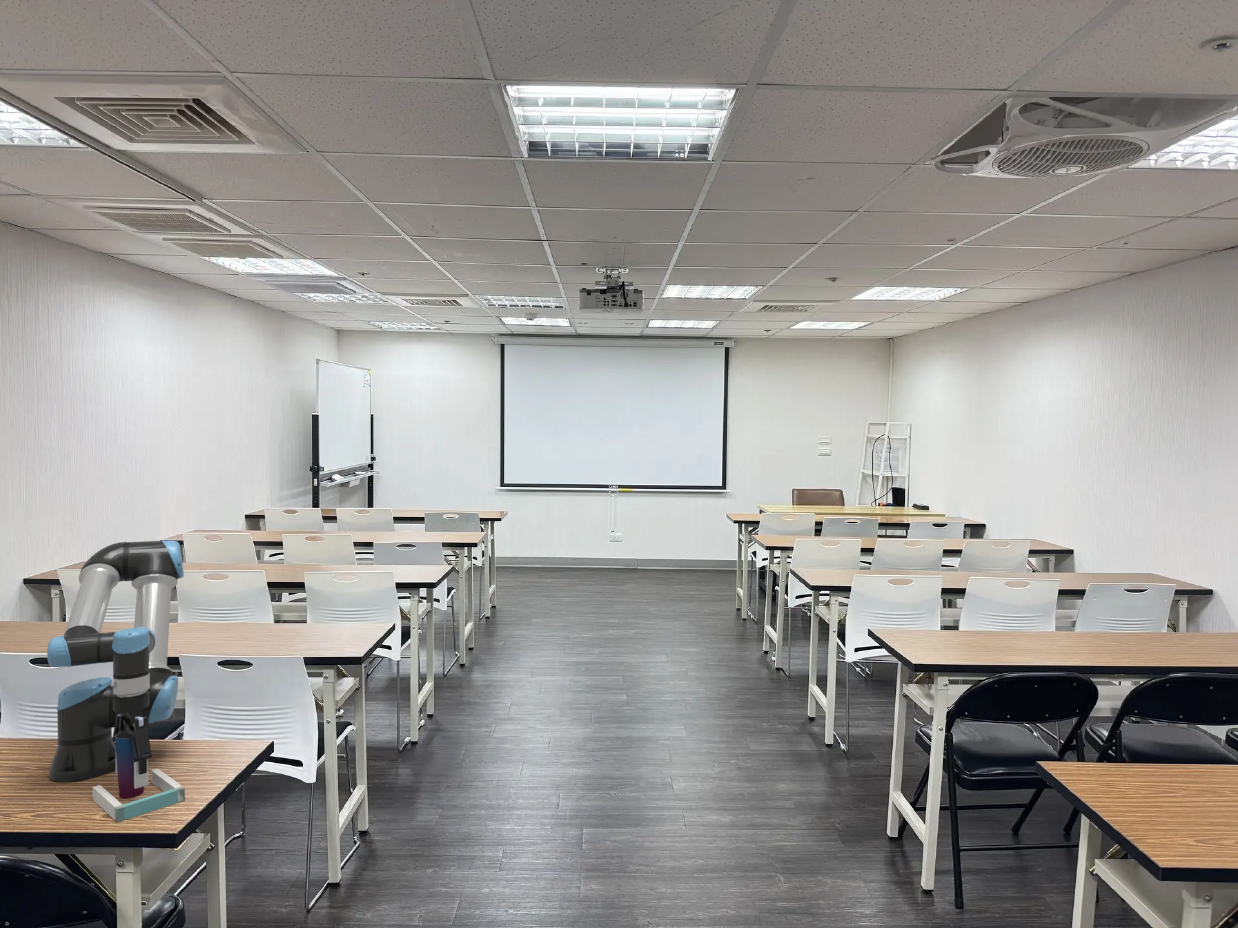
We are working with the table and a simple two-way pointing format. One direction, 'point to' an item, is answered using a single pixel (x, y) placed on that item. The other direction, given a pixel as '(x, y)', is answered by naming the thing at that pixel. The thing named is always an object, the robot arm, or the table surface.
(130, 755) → the cup
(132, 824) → the table surface
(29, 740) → the table surface
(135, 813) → the bay
